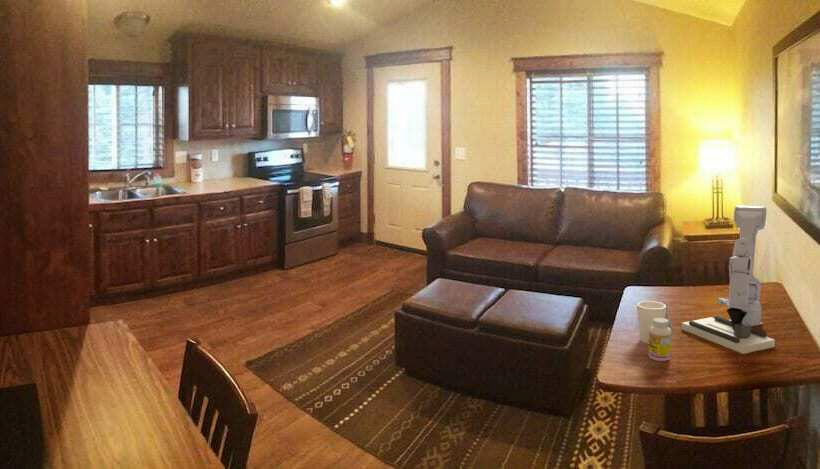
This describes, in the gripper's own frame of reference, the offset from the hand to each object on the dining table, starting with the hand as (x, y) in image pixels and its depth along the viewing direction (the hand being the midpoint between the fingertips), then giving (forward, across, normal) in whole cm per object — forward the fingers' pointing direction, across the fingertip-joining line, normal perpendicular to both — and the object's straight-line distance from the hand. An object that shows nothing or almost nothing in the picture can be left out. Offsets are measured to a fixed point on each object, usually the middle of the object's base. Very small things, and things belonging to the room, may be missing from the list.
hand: (736, 329), depth 203 cm
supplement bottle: (+4, 0, -33) cm, 33 cm away
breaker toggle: (+1, +2, 0) cm, 3 cm away
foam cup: (+4, -13, -25) cm, 28 cm away
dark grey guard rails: (+2, -4, 0) cm, 4 cm away
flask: (+5, -20, -13) cm, 24 cm away
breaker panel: (+4, -4, 0) cm, 6 cm away
